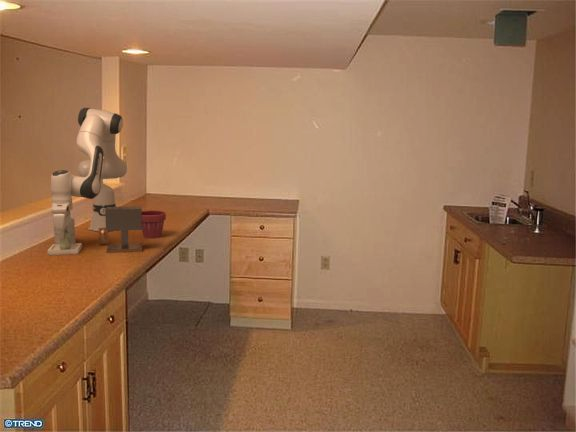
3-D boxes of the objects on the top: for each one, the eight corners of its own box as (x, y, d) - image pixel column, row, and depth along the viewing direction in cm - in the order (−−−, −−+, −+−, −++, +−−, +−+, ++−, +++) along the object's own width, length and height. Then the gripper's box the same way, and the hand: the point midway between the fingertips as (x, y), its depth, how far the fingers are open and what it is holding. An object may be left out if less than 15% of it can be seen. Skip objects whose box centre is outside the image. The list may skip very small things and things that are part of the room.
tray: (53, 248, 272) (52, 244, 271) (82, 247, 274) (81, 243, 274) (47, 255, 259) (47, 250, 259) (77, 254, 262) (77, 249, 261)
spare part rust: (99, 243, 283) (98, 227, 282) (109, 243, 284) (108, 227, 283) (98, 245, 279) (97, 229, 278) (108, 245, 280) (107, 229, 278)
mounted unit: (109, 246, 276) (107, 206, 273) (143, 245, 280) (141, 205, 276) (106, 252, 265) (104, 210, 261) (142, 251, 268) (140, 209, 265)
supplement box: (68, 240, 289) (66, 216, 286) (76, 242, 284) (74, 217, 282) (54, 243, 283) (52, 218, 281) (62, 245, 278) (60, 219, 276)
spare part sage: (61, 248, 268) (60, 231, 267) (71, 248, 269) (70, 231, 268) (59, 250, 264) (58, 233, 263) (69, 250, 265) (68, 233, 264)
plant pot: (159, 240, 292) (158, 215, 290) (133, 238, 295) (133, 214, 293) (170, 234, 306) (169, 211, 304) (146, 233, 309) (145, 209, 307)
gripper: (59, 202, 273) (60, 230, 275) (50, 209, 253) (52, 240, 255) (73, 202, 274) (74, 230, 276) (65, 209, 254) (67, 240, 257)
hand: (63, 235), depth 266 cm, fingers open, 8 cm apart
